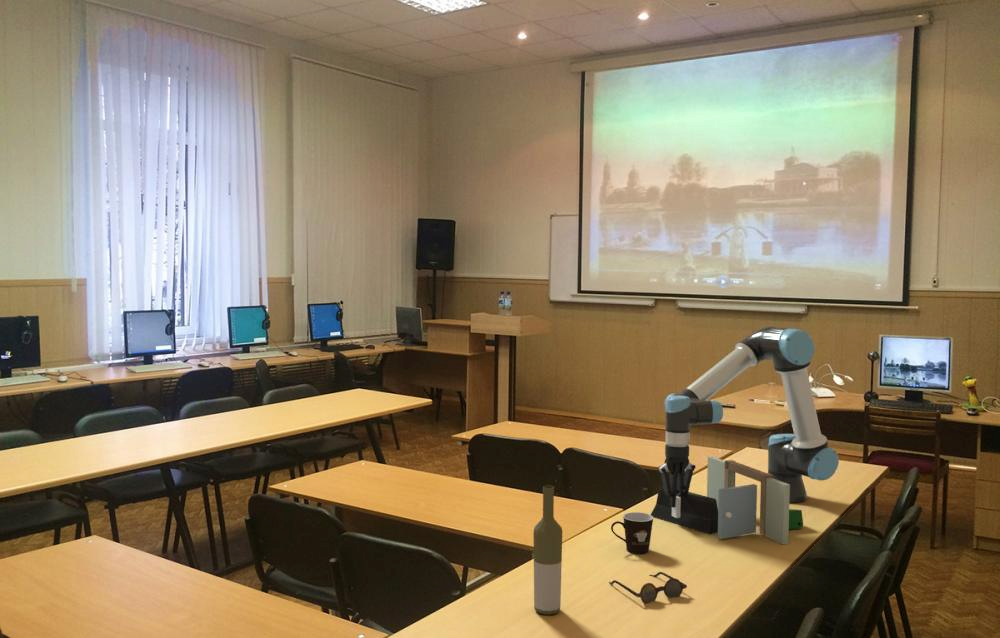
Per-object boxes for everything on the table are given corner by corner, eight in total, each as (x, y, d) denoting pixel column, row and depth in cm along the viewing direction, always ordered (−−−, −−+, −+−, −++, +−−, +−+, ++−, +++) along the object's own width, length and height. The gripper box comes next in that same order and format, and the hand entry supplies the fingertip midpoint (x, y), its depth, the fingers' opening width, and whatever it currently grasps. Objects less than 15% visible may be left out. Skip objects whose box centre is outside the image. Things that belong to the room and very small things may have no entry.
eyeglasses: (637, 607, 184) (638, 587, 184) (605, 584, 198) (605, 565, 197) (686, 597, 190) (687, 577, 190) (652, 575, 203) (652, 557, 203)
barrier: (725, 529, 241) (726, 498, 240) (709, 535, 235) (710, 503, 235) (665, 511, 259) (666, 483, 258) (649, 516, 253) (649, 487, 253)
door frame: (712, 507, 263) (713, 453, 262) (789, 543, 228) (790, 481, 227) (705, 508, 262) (706, 454, 261) (781, 544, 227) (783, 482, 226)
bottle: (528, 614, 179) (529, 489, 177) (537, 602, 185) (538, 481, 184) (557, 619, 176) (558, 492, 175) (565, 607, 183) (566, 484, 181)
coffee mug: (654, 547, 224) (655, 514, 223) (650, 557, 216) (651, 522, 215) (615, 542, 228) (615, 509, 227) (610, 552, 219) (610, 518, 219)
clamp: (788, 538, 245) (795, 511, 248) (799, 539, 240) (806, 511, 242) (756, 525, 244) (763, 498, 246) (766, 526, 238) (773, 498, 241)
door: (752, 531, 237) (753, 484, 236) (759, 534, 234) (760, 486, 233) (717, 537, 231) (718, 489, 230) (724, 540, 228) (725, 491, 227)
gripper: (687, 440, 249) (686, 511, 250) (653, 443, 244) (652, 515, 245) (701, 445, 242) (699, 518, 243) (666, 448, 237) (664, 522, 238)
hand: (675, 516), depth 244 cm, fingers closed
